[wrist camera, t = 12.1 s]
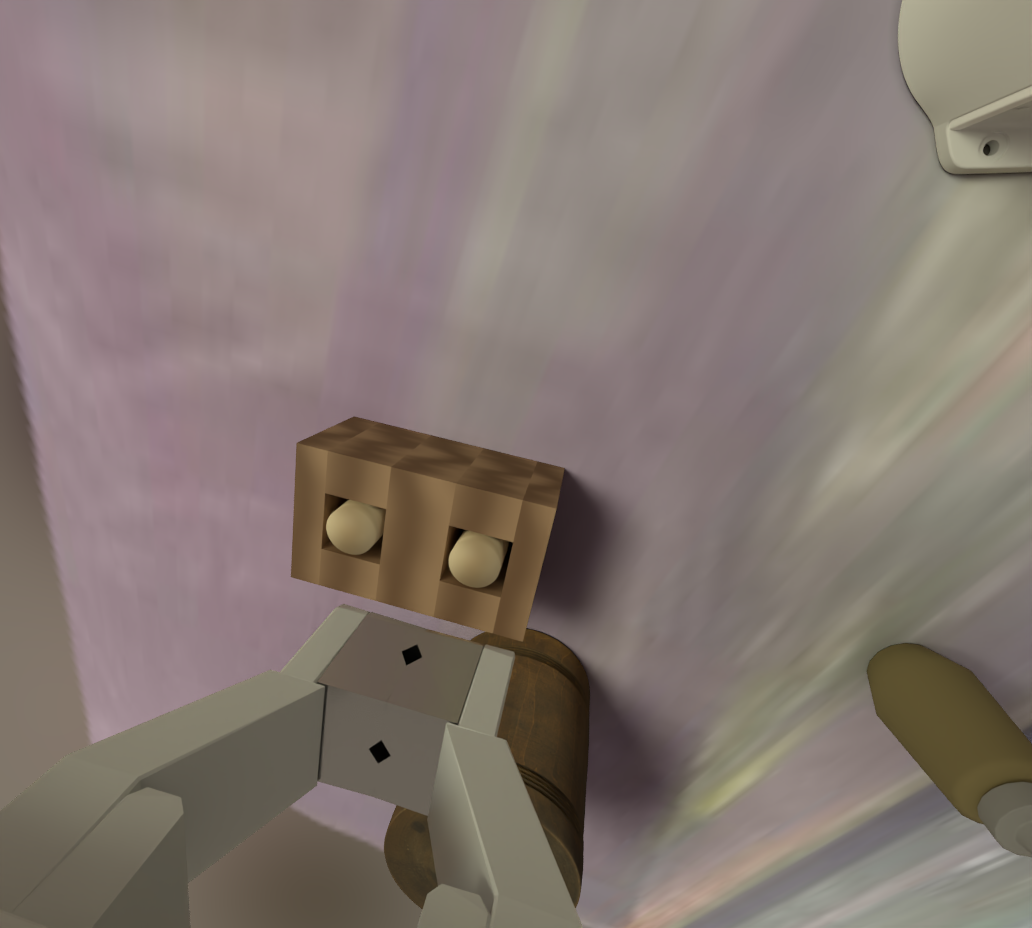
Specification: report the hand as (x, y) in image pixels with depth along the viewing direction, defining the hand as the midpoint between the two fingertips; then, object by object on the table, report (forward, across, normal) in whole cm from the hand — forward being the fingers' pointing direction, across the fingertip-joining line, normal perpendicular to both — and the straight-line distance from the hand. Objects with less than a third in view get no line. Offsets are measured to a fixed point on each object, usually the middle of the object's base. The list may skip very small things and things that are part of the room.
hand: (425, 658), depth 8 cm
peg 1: (+33, +13, +14) cm, 38 cm away
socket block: (+34, +8, +14) cm, 38 cm away
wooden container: (+34, -3, +33) cm, 48 cm away
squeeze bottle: (+34, -36, +19) cm, 53 cm away
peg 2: (+33, +3, +14) cm, 36 cm away
